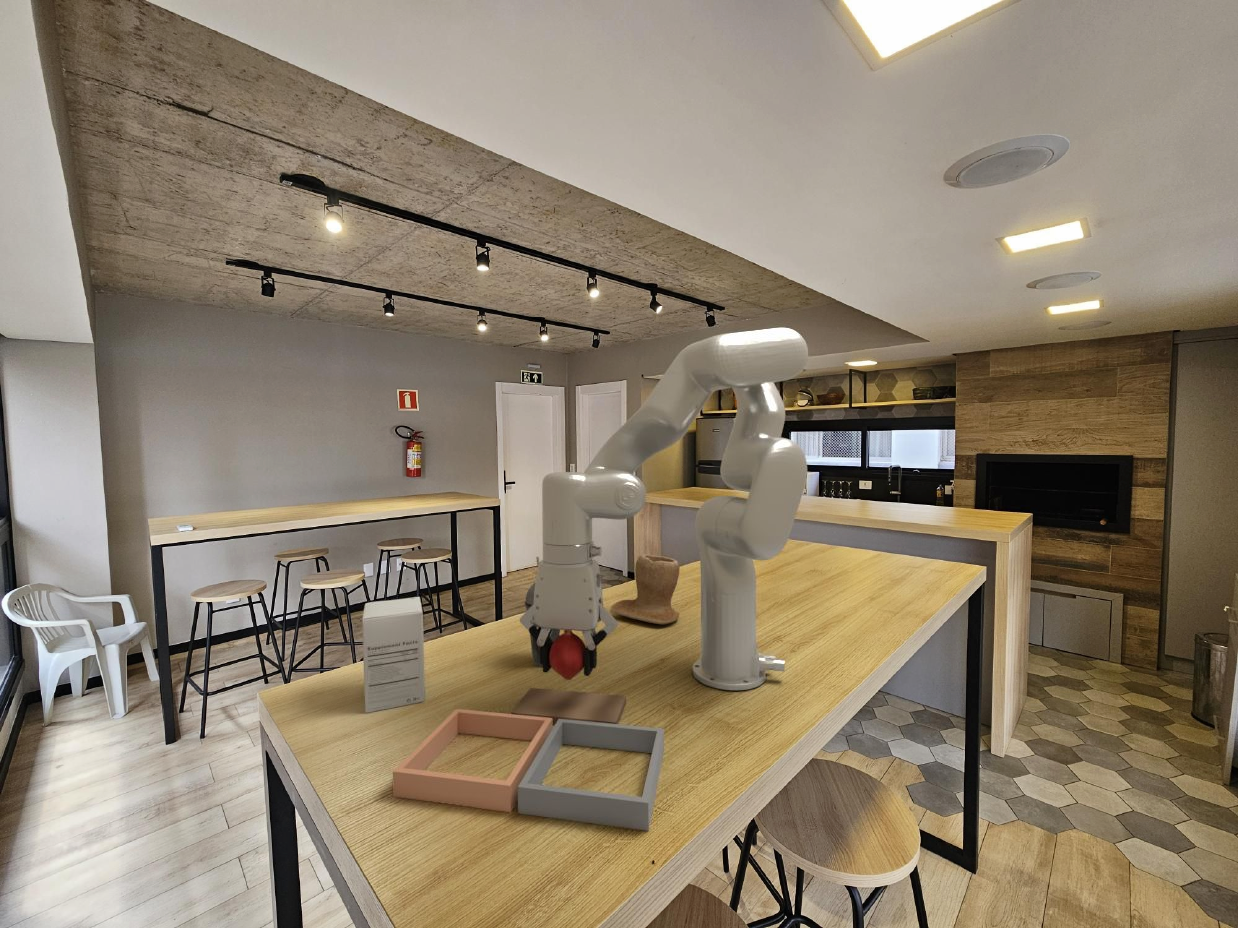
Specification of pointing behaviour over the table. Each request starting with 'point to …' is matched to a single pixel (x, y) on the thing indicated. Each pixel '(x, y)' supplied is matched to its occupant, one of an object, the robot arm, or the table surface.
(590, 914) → the table surface
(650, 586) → the brown boot-shaped piece
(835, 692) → the table surface
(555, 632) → the beverage cup
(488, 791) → the terracotta crate
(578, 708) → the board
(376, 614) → the supplement box
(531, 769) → the frame
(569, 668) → the onion
